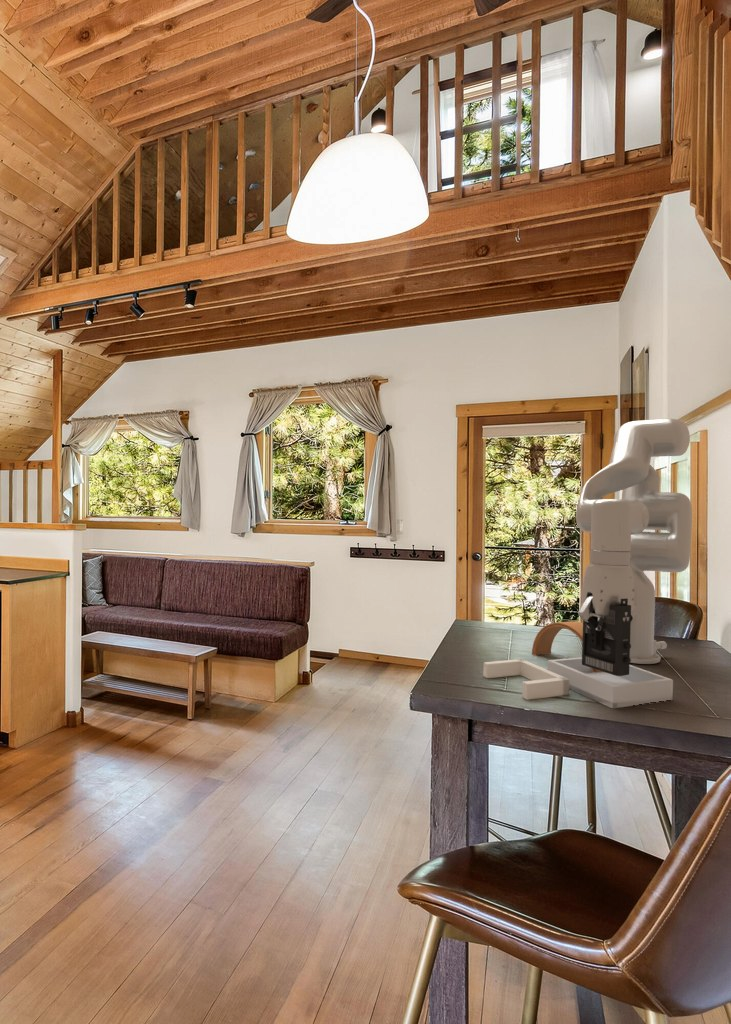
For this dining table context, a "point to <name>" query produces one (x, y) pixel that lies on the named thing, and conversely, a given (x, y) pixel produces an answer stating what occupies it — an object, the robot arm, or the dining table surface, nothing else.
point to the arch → (548, 634)
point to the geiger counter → (610, 642)
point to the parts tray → (613, 684)
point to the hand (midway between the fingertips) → (607, 647)
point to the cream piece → (541, 678)
